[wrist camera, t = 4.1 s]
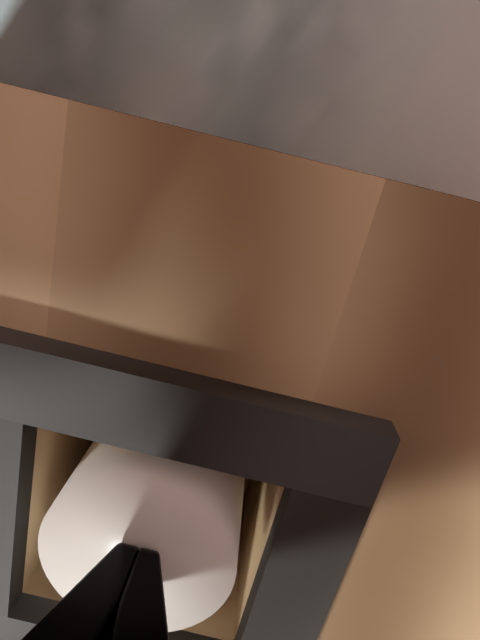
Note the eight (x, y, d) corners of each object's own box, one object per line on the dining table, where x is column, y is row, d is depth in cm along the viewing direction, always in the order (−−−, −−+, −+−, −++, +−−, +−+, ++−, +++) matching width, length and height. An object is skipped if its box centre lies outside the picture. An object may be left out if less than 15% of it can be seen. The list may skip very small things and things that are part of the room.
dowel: (263, 373, 13) (258, 505, 8) (234, 478, 15) (213, 651, 9) (135, 342, 13) (46, 454, 8) (117, 450, 15) (30, 608, 9)
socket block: (522, 221, 13) (772, 272, 6) (348, 615, 18) (389, 856, 12) (-31, 83, 12) (-340, -4, 6) (-42, 523, 18) (-214, 716, 11)
